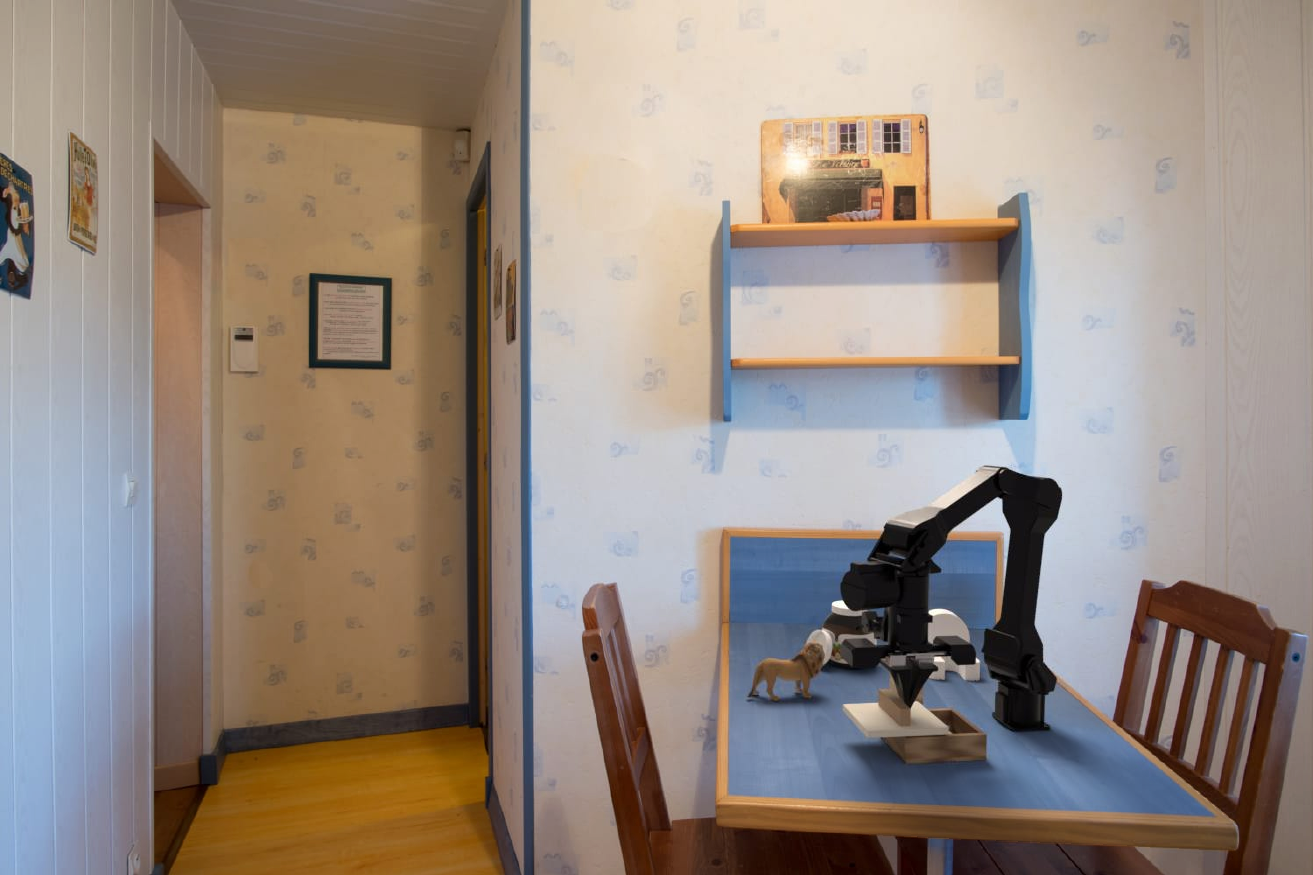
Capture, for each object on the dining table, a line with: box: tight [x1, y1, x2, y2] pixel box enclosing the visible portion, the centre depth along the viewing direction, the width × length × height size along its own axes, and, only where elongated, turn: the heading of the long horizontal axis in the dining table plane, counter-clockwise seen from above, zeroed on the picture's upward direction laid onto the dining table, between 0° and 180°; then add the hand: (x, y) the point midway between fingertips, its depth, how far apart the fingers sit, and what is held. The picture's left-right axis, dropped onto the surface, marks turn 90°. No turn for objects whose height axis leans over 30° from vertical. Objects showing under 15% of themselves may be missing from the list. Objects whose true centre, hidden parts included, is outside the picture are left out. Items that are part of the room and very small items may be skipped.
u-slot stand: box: [928, 608, 981, 682], centre depth 156 cm, size 10×18×11 cm, turn 176°
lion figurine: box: [746, 642, 825, 702], centre depth 139 cm, size 15×5×9 cm, turn 109°
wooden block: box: [888, 673, 924, 706], centre depth 130 cm, size 4×4×8 cm
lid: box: [842, 688, 949, 739], centre depth 118 cm, size 12×10×4 cm
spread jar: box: [806, 600, 878, 669], centre depth 156 cm, size 12×11×12 cm
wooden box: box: [881, 707, 988, 765], centre depth 118 cm, size 12×10×4 cm
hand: (906, 708), depth 118 cm, fingers closed
